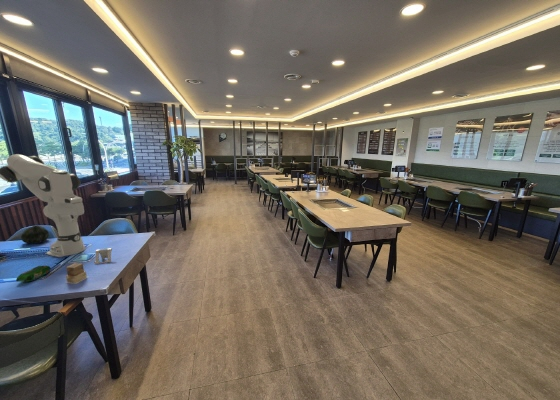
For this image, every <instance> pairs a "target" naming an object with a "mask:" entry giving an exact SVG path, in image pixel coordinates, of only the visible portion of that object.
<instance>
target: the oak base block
mask: <svg viewBox="0 0 560 400" xmlns="http://www.w3.org/2000/svg"><path fill="white" fill-rule="evenodd" d="M86 277H88V276H87V272H86V271H85V270H84V272H82V273H80V274H78V275H77V276H70V275H67V274H66V275H65V278H66V282H71V283H70V284H74V283H77V284H79V283H80V282H79V281H81V280H82V281H84V280H86V279H87V278H86ZM85 278H86V279H85ZM83 279H84V280H83ZM82 281H81V282H82ZM78 282H79V283H78Z"/></svg>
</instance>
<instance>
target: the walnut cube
mask: <svg viewBox="0 0 560 400" xmlns="http://www.w3.org/2000/svg"><path fill="white" fill-rule="evenodd" d="M65 269H66V275H70V276H77V275H78V274H80V273H82V272H84V271H85V270H84V264H83V263H79V262H74V263H72V264H70V265H67V266H65Z"/></svg>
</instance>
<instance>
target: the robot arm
mask: <svg viewBox="0 0 560 400" xmlns="http://www.w3.org/2000/svg"><path fill="white" fill-rule="evenodd" d="M6 163H7V164H6V165H4V166H1V167H0V179H2V180H3V181H4V182H8V183H11V184H12V183H16V182H19V181H21V182H22V183H23V185H24V186H25V188H27V189H28V190H29V191H30V192H31V193H32V194H33V195H35V196H36V197H37V198H38V199H39V200H40V201H41V202H44V203H45V202H46V203H47V205H45V206H44V207H43V212H42V213H43V214H44V216H45V217H47V218H48V219H51V220H52V221H53V222H54V224H55V225H56V229H57V233H58V235H56V238H57V239H56V240H55V241H54V242H53V243H52V244H50V247H49V249H50V250H49V251H47V252H45V253H46V255H49V256H53V257H57V258H62V257H65V256H72V255H76V254H79V253H82V252H83V251H85V250H86V245H85V244H84V241H83V238H82V235H81V232H80V228H79V223H78V218H79V216H81V215H84V214H85V206H84V203H83V198H82V197H80V196H77V195H76V194H74V191H76V190H77V189H78V188H80V186H81V183H82V181H81V179H80V177H79V176H77V175H76V174H75V173H69V172H68V171H66V170H61V169H59V168H57V167H53V166H50V165H48V164H45V162H44V161H43V160H42V159H41V158H39V157H38V156H36V155H29V156H27V155H25V154H24V155H23V154H19V153H16V154H15V153H14V154H12V155H9V156H8V157H7V159H6ZM72 217H73V218H72Z"/></svg>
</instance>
